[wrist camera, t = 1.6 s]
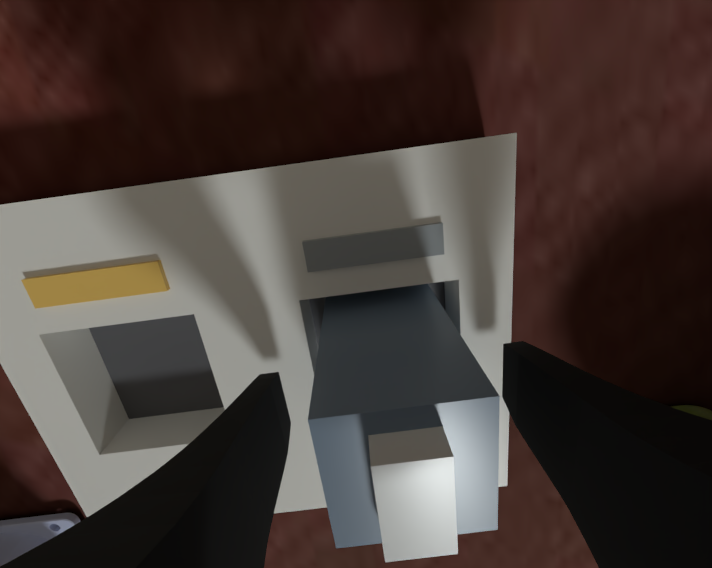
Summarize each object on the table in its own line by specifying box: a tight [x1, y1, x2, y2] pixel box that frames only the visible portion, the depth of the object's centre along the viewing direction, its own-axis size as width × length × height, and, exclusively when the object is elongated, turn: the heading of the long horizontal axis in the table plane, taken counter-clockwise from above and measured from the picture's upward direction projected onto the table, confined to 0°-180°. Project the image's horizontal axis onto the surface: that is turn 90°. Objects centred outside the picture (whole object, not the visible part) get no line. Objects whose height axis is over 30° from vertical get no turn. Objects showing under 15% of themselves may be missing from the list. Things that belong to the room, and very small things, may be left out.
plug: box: [308, 284, 500, 562], centre depth 11 cm, size 4×4×8 cm
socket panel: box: [0, 133, 517, 517], centre depth 14 cm, size 18×14×3 cm
